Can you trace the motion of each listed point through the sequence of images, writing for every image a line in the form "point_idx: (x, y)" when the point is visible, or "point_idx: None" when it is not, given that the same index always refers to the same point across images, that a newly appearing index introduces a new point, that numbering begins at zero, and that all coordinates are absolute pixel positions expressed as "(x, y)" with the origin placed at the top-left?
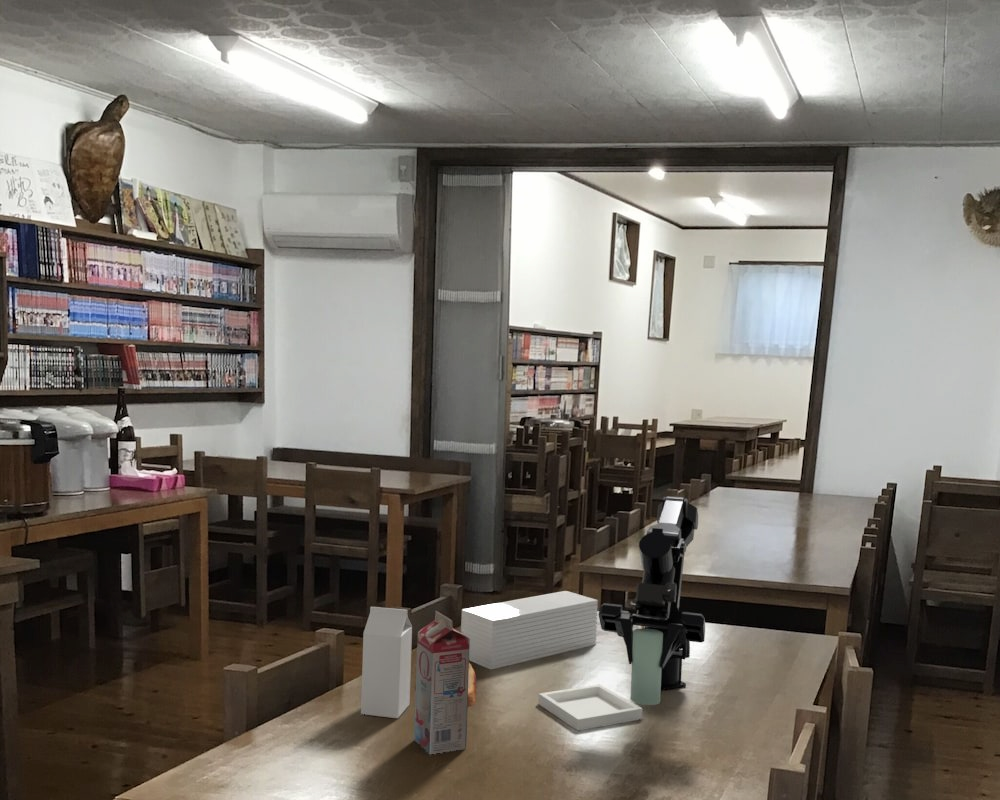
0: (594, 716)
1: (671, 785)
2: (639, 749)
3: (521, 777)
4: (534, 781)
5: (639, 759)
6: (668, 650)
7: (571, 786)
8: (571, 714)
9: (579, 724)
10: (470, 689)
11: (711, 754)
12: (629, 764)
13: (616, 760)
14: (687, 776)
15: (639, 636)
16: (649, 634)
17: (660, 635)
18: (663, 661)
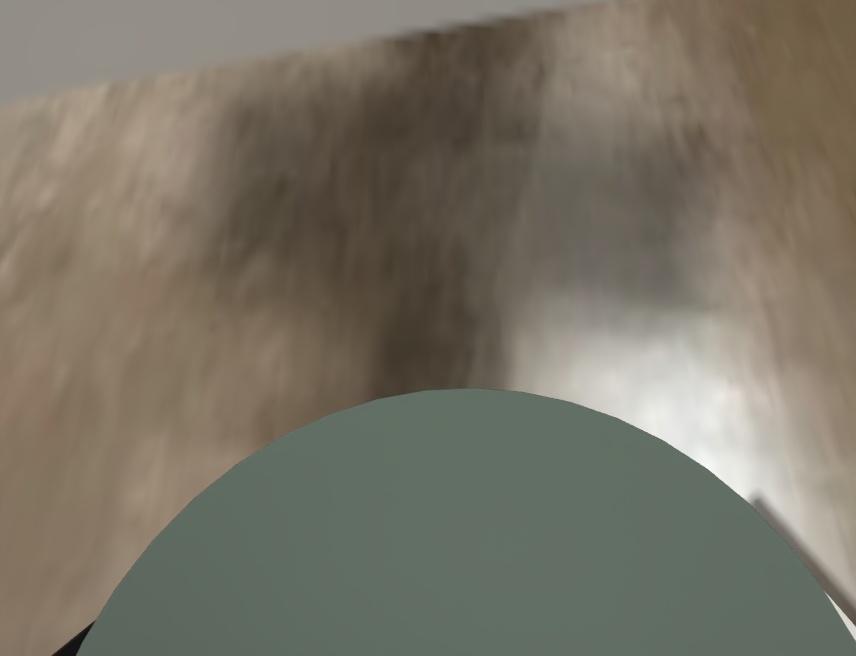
0: None
1: (305, 91)
2: None
3: (839, 50)
4: (787, 32)
5: (429, 285)
6: (70, 640)
7: (658, 22)
8: (851, 627)
9: None
10: None
11: (80, 418)
12: (470, 228)
13: (526, 253)
14: (234, 172)
15: (673, 455)
16: (436, 629)
17: (126, 616)
18: None
